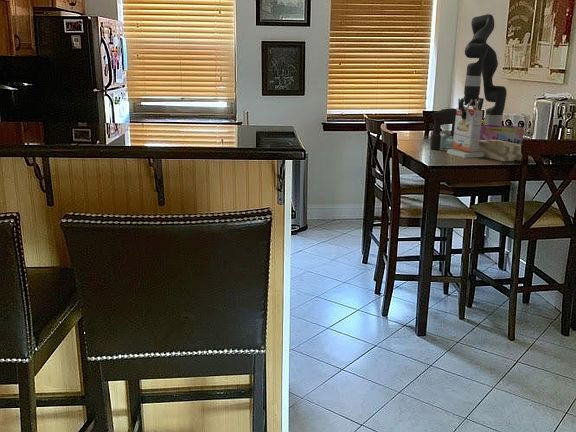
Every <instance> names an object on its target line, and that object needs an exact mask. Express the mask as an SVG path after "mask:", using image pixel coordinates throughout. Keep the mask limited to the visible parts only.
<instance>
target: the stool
mask: <svg viewBox="0 0 576 432" xmlns="http://www.w3.org/2000/svg"><path fill="white" fill-rule="evenodd" d="M456 110H457V108H443V109H439V110H438V111H433V112H432V119H433V120H434V121H433V132H432V133H431V140H430V142H431V143H430V150H433V151H441V150H440V149H446V150H449V149H456V148H452V146H453V137H454V128H455V119H456ZM444 125H451V130H450V131H449V133H450V134H449V136H448V134H447V133H441V128H442V127H441V126H444Z"/></svg>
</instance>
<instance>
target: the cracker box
mask: <svg viewBox="0 0 576 432" xmlns="http://www.w3.org/2000/svg"><path fill="white" fill-rule="evenodd" d="M456 109H457V110H456V119H455V128H454V137H453V146H452V148H456V149H460V150H463V151H467V152H478V148H479V140H480V132H481V125H483V124H482V122H483V115H484V114H483V113H484V110H483V109H482V110H475V109H473V108H468V109H467V111H466V119H462V117H461V116H462V111H460V110H459V107H456Z"/></svg>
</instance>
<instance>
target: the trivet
mask: <svg viewBox="0 0 576 432" xmlns="http://www.w3.org/2000/svg"><path fill="white" fill-rule="evenodd" d="M447 154H449V155H452V156H456V157H459V158H464V159H468V158H469V159H470V158H471V159H472V158H484V153H482V152H467V151H463V150H460V149H447Z"/></svg>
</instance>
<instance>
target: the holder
mask: <svg viewBox="0 0 576 432" xmlns="http://www.w3.org/2000/svg"><path fill="white" fill-rule="evenodd" d="M478 152H482V153H484V157H485V158H489V159H493V160H496V161H499V162H513V161H514V160H517V161H522V160H521V158H522V154H521V144H516V143H511V142H506V141H501V140H479V148H478ZM484 157H483V158H484ZM514 162H515V161H514Z"/></svg>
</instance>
